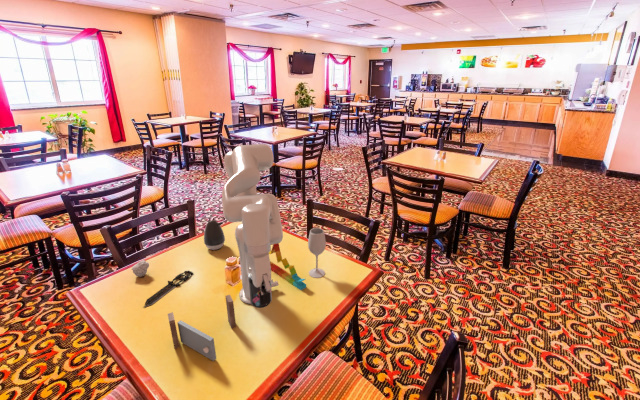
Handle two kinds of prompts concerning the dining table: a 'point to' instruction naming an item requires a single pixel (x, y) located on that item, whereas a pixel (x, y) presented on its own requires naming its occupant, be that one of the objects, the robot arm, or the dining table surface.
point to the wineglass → (316, 249)
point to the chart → (292, 277)
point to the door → (197, 340)
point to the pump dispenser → (214, 235)
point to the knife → (167, 288)
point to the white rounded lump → (140, 268)
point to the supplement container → (256, 294)
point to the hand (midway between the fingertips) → (260, 295)
